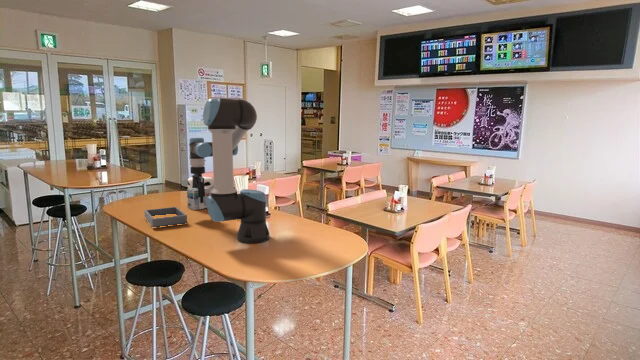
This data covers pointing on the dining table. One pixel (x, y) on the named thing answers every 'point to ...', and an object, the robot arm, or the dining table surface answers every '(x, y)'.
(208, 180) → the milk container
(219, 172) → the robot arm
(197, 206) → the light bulb box
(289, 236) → the dining table surface
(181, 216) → the grey bin
